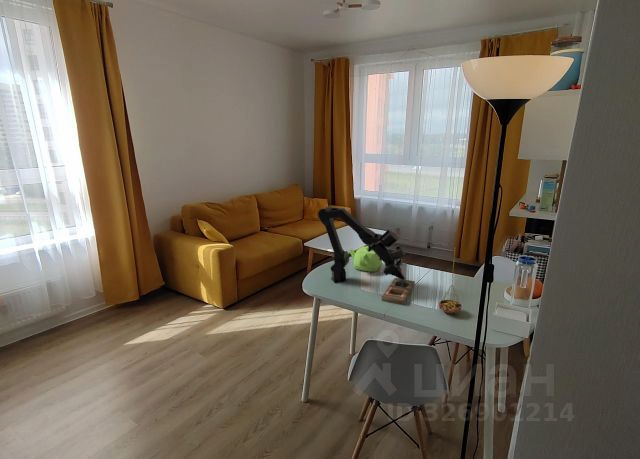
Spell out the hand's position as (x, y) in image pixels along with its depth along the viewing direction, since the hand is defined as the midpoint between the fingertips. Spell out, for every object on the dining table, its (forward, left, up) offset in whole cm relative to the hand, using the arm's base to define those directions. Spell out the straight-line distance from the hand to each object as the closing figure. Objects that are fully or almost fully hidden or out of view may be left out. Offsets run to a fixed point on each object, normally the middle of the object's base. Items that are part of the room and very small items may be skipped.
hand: (404, 276), depth 165 cm
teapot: (-6, +33, -7) cm, 34 cm away
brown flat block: (-5, -3, -7) cm, 9 cm away
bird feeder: (+6, -26, -7) cm, 28 cm away
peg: (-1, +1, -7) cm, 7 cm away
